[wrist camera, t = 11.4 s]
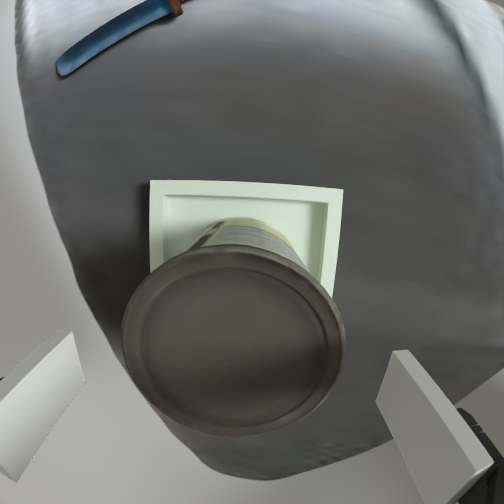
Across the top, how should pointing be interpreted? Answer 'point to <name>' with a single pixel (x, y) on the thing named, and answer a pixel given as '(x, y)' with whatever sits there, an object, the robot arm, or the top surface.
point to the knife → (115, 31)
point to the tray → (248, 205)
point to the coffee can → (234, 333)
